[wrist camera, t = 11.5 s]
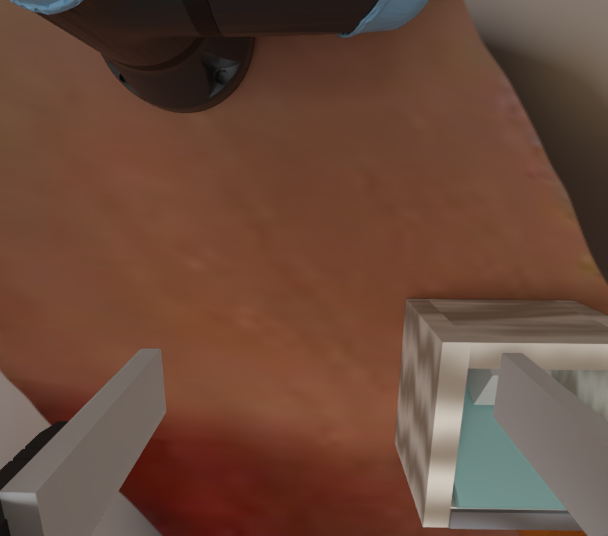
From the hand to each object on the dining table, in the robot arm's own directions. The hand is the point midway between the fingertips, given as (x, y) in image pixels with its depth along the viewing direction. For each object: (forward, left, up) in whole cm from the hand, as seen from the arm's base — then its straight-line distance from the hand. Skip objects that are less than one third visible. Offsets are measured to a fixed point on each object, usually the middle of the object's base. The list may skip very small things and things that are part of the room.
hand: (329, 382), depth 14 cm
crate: (+16, +21, -29) cm, 39 cm away
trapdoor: (+19, +21, -22) cm, 36 cm away
